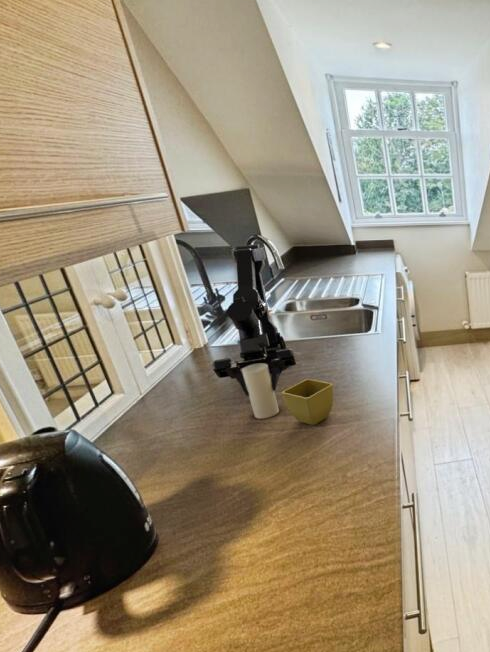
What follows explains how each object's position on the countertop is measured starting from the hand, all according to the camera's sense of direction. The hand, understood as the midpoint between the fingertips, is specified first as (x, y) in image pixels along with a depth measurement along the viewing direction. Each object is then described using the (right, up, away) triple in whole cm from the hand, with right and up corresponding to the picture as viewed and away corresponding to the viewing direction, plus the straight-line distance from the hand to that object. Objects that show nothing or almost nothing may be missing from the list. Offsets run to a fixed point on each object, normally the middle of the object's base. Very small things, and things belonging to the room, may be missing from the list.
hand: (260, 392), depth 116 cm
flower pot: (+14, -7, 0) cm, 16 cm away
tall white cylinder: (0, -6, +4) cm, 7 cm away
